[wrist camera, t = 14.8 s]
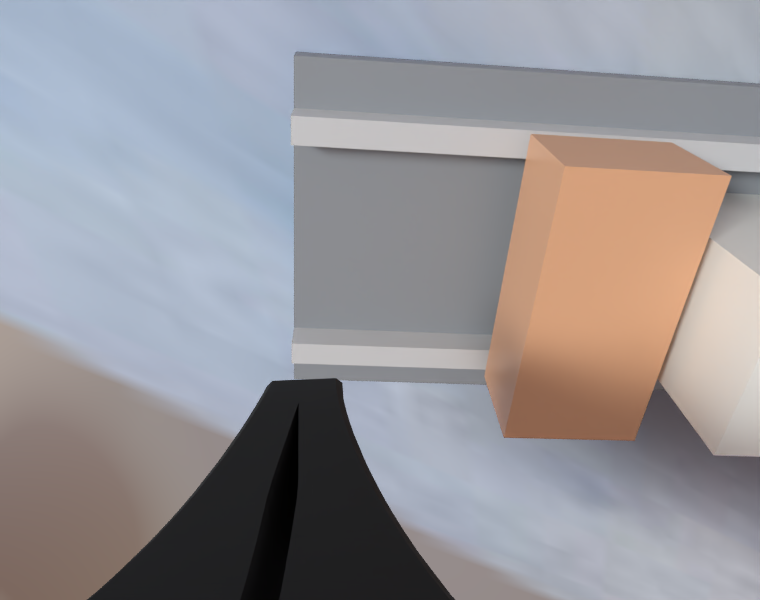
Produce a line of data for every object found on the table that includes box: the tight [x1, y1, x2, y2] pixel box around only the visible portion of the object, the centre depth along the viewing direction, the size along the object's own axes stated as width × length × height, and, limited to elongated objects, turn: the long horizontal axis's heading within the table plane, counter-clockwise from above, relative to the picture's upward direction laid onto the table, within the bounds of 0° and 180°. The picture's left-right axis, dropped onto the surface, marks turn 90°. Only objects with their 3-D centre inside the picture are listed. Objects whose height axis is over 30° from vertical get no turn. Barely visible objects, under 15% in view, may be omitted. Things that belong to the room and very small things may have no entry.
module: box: [657, 193, 760, 457], centre depth 17 cm, size 4×4×7 cm
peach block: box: [484, 134, 732, 441], centre depth 17 cm, size 4×8×3 cm, turn 176°
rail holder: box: [291, 52, 760, 390], centre depth 18 cm, size 20×11×6 cm, turn 86°
